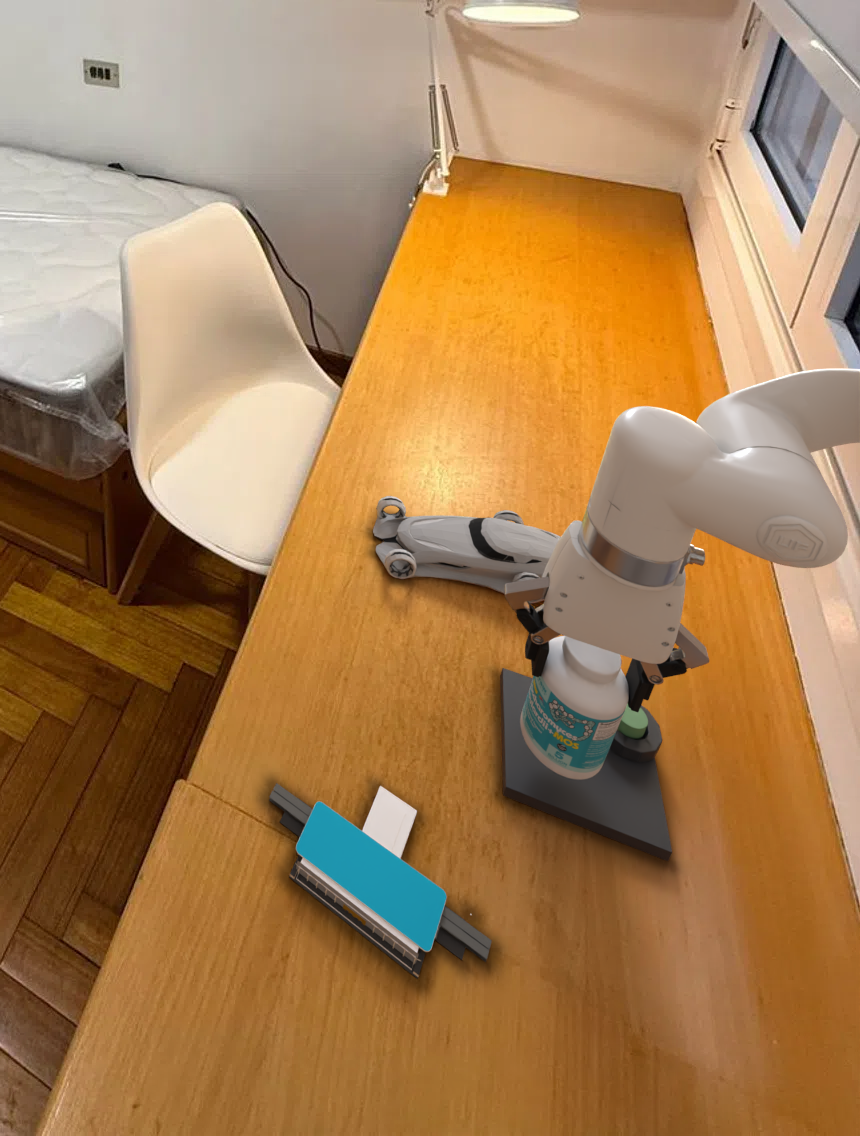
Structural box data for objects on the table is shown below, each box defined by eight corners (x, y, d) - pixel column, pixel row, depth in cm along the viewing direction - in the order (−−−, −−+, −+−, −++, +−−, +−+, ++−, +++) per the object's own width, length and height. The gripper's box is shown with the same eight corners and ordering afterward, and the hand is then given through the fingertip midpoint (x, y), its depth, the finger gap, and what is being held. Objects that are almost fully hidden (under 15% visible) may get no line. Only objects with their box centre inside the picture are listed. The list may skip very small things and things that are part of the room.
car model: (369, 509, 114) (374, 481, 112) (559, 538, 110) (568, 510, 108) (379, 579, 104) (384, 549, 102) (588, 613, 100) (598, 583, 98)
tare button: (641, 715, 86) (645, 705, 86) (646, 743, 84) (650, 733, 83) (608, 704, 87) (612, 694, 87) (612, 731, 85) (616, 721, 84)
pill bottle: (501, 719, 84) (530, 625, 79) (557, 694, 87) (588, 602, 82) (562, 797, 78) (597, 700, 73) (620, 767, 80) (658, 672, 75)
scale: (648, 724, 88) (655, 706, 87) (673, 864, 77) (683, 844, 75) (499, 672, 93) (505, 653, 92) (503, 795, 82) (509, 776, 80)
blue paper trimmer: (507, 878, 75) (510, 867, 75) (471, 1021, 66) (475, 1010, 66) (301, 736, 86) (303, 726, 86) (246, 843, 77) (248, 832, 77)
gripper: (738, 541, 72) (680, 679, 79) (519, 480, 78) (482, 613, 85) (763, 614, 66) (698, 757, 73) (522, 541, 72) (482, 680, 79)
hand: (582, 679), depth 79 cm, fingers closed on pill bottle, 7 cm apart
